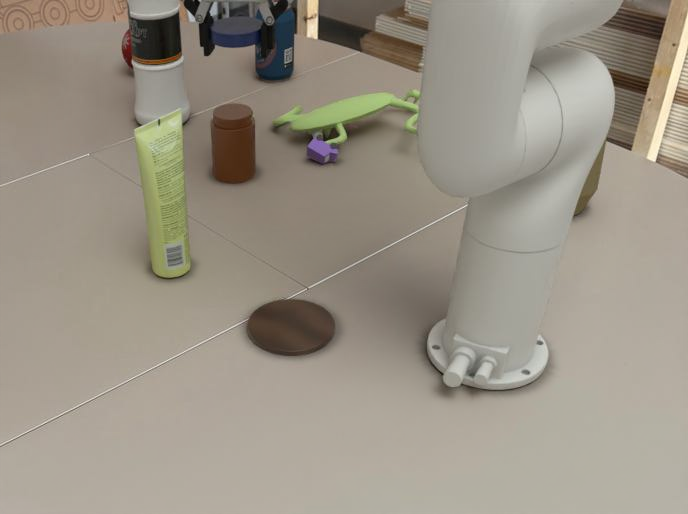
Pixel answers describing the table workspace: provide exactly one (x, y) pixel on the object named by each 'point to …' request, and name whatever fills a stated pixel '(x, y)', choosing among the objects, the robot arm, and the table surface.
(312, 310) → the coaster
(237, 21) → the jar lid
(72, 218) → the table surface
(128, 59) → the christmas ornament
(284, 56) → the soda can
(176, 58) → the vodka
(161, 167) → the tube
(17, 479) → the table surface
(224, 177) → the jam jar
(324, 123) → the figurine
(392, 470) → the table surface
